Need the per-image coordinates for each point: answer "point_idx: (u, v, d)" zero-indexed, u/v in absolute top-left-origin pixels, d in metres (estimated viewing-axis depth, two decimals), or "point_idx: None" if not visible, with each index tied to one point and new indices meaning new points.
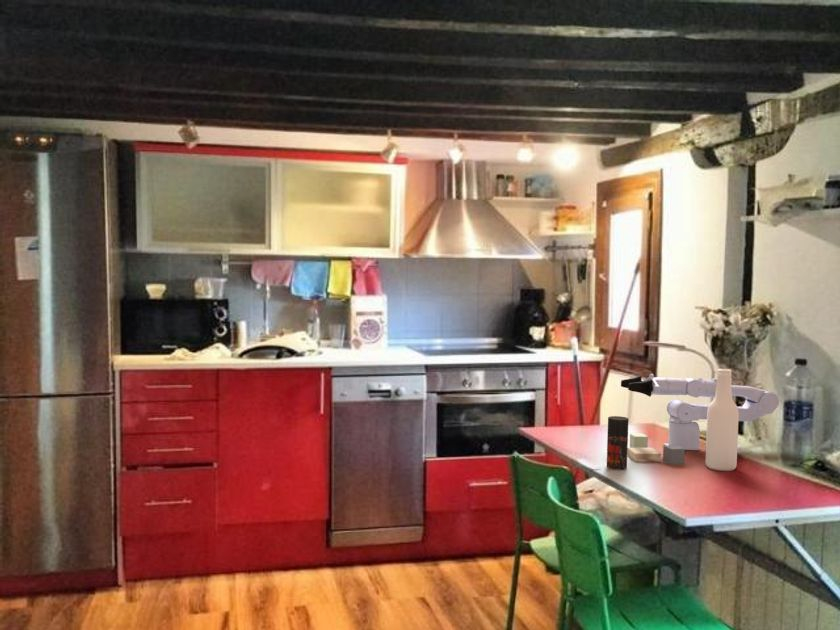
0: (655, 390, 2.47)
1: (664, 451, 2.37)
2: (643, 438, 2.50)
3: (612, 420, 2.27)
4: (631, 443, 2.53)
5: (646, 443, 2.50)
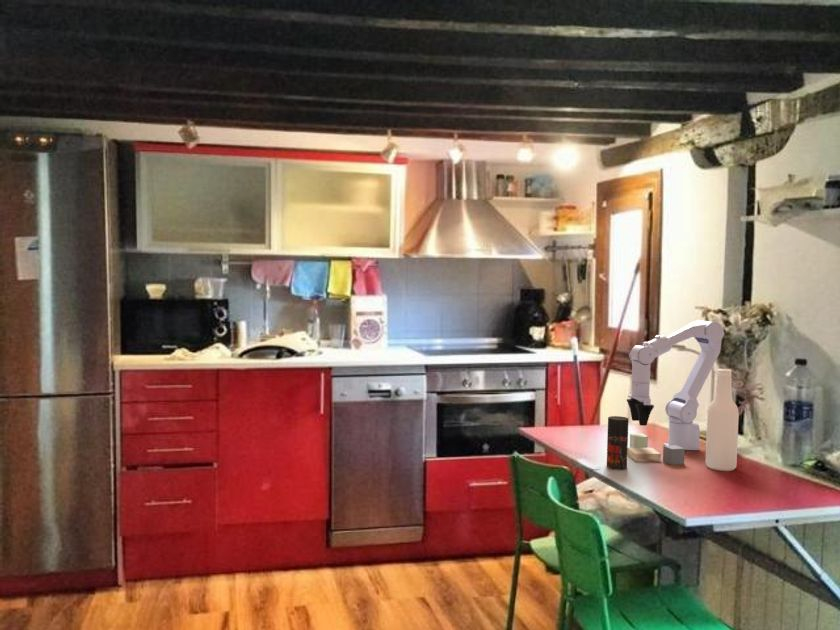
0: (648, 403, 2.44)
1: (664, 451, 2.37)
2: (643, 438, 2.50)
3: (612, 420, 2.27)
4: (631, 443, 2.53)
5: (646, 443, 2.50)
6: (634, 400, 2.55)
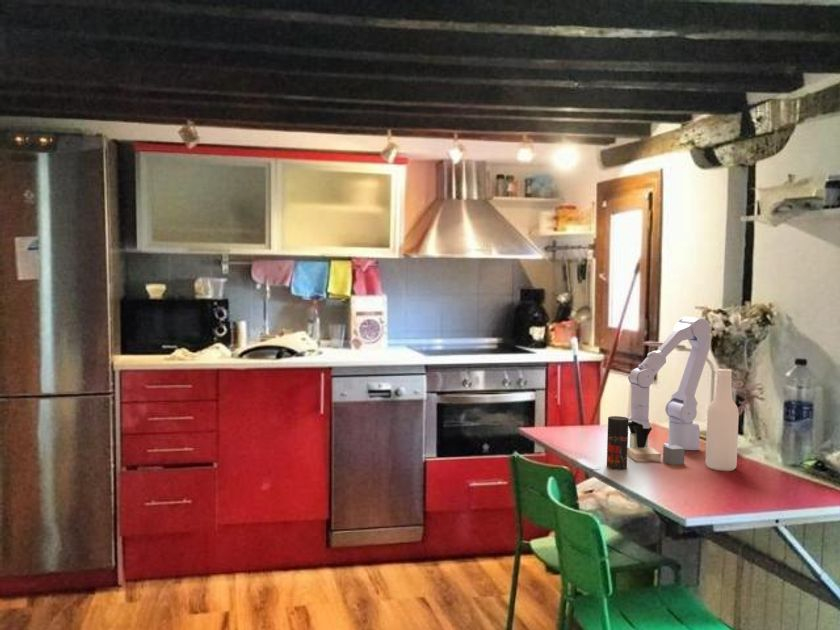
0: (648, 427, 2.45)
1: (664, 451, 2.37)
2: None
3: (612, 420, 2.27)
4: (631, 443, 2.53)
5: (646, 443, 2.50)
6: (635, 423, 2.54)
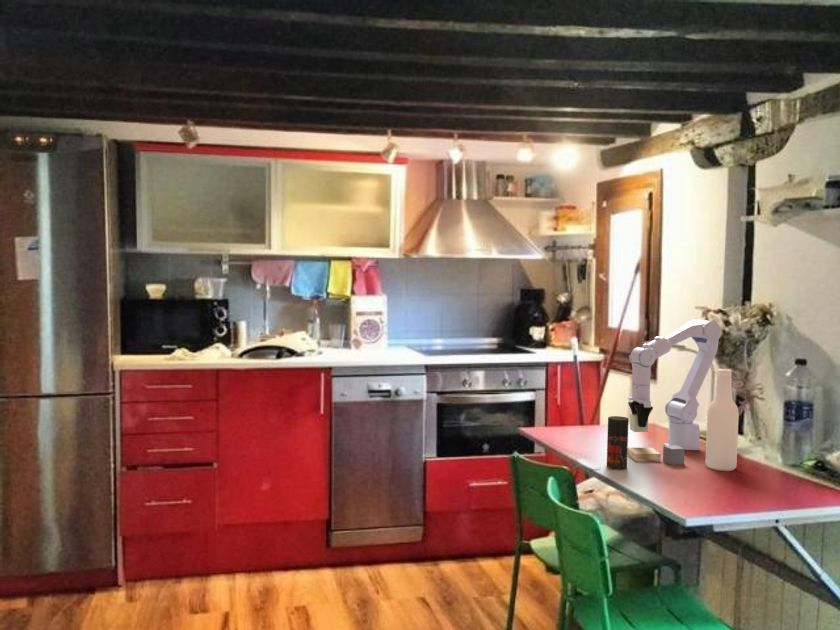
0: (648, 406, 2.43)
1: (664, 451, 2.37)
2: None
3: (612, 420, 2.27)
4: (631, 423, 2.51)
5: None
6: (636, 403, 2.53)
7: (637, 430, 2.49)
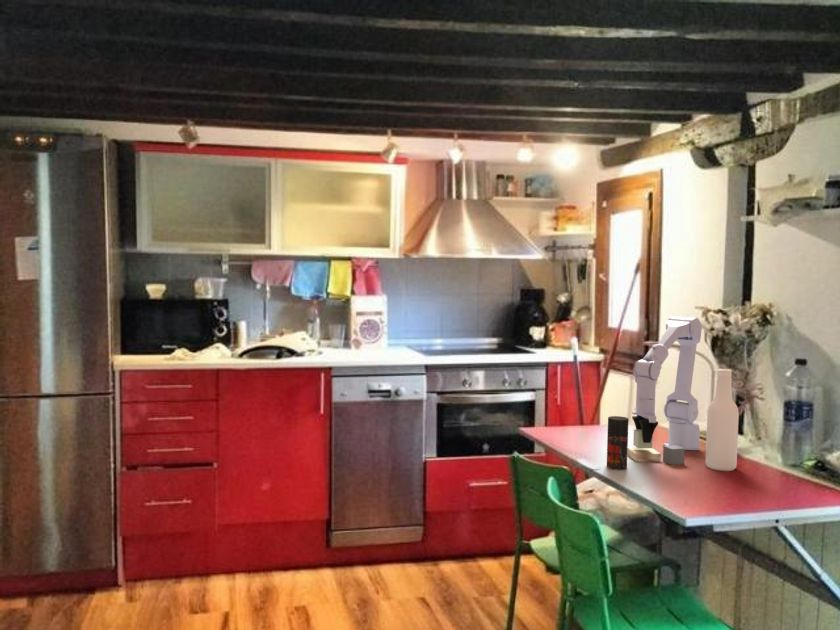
0: (654, 421, 2.33)
1: (664, 451, 2.37)
2: None
3: (612, 420, 2.27)
4: (635, 439, 2.41)
5: None
6: (640, 417, 2.43)
7: (641, 446, 2.39)
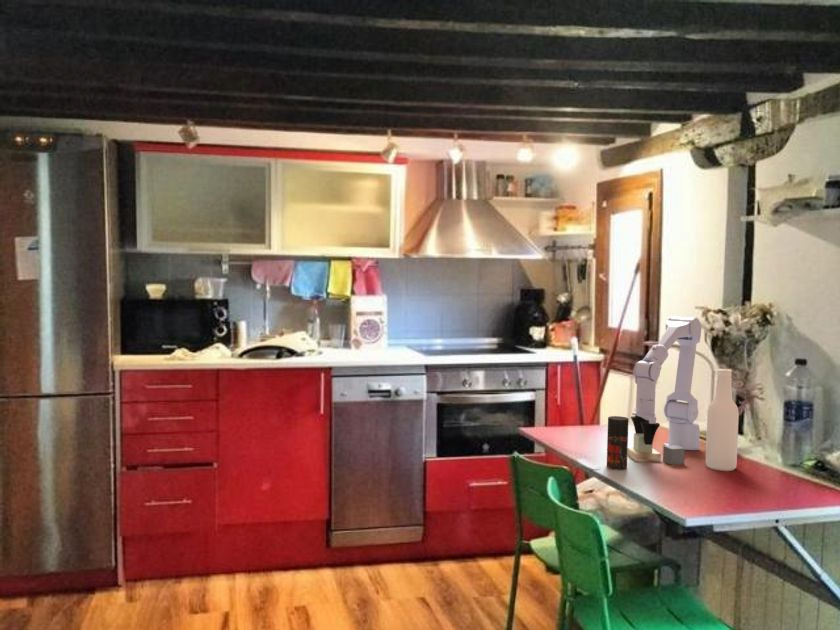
0: (654, 422, 2.33)
1: (664, 451, 2.37)
2: None
3: (612, 420, 2.27)
4: (635, 443, 2.41)
5: None
6: (639, 417, 2.44)
7: (641, 450, 2.39)
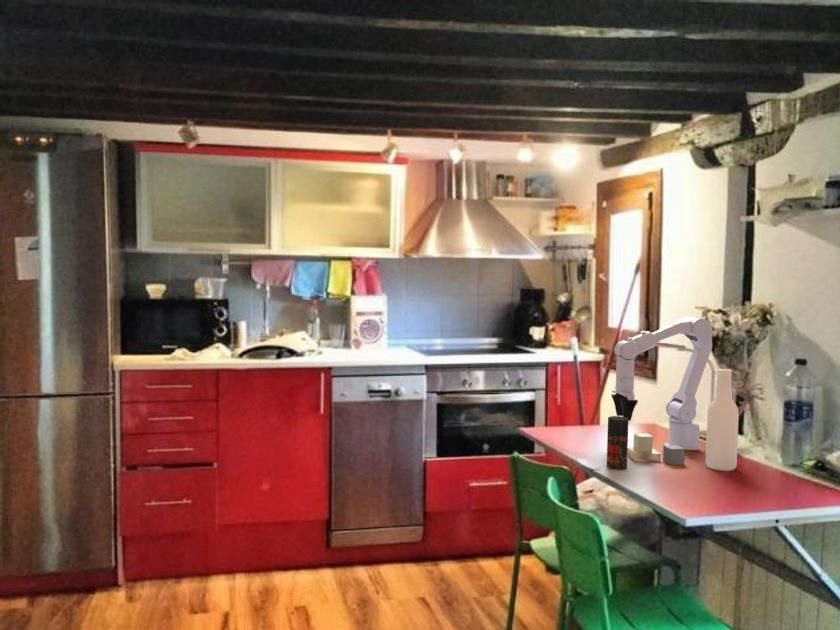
0: (632, 398, 2.45)
1: (664, 451, 2.37)
2: (648, 438, 2.39)
3: (612, 420, 2.27)
4: (635, 443, 2.41)
5: (651, 443, 2.39)
6: (619, 395, 2.56)
7: (641, 450, 2.39)
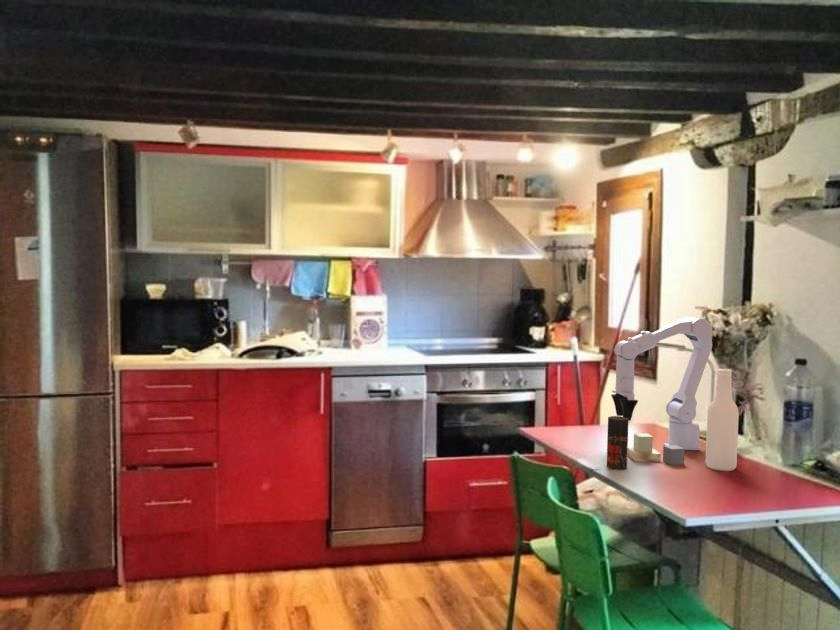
0: (632, 398, 2.45)
1: (664, 451, 2.37)
2: (648, 438, 2.39)
3: (612, 420, 2.27)
4: (635, 443, 2.41)
5: (651, 443, 2.39)
6: (619, 395, 2.56)
7: (641, 450, 2.39)
